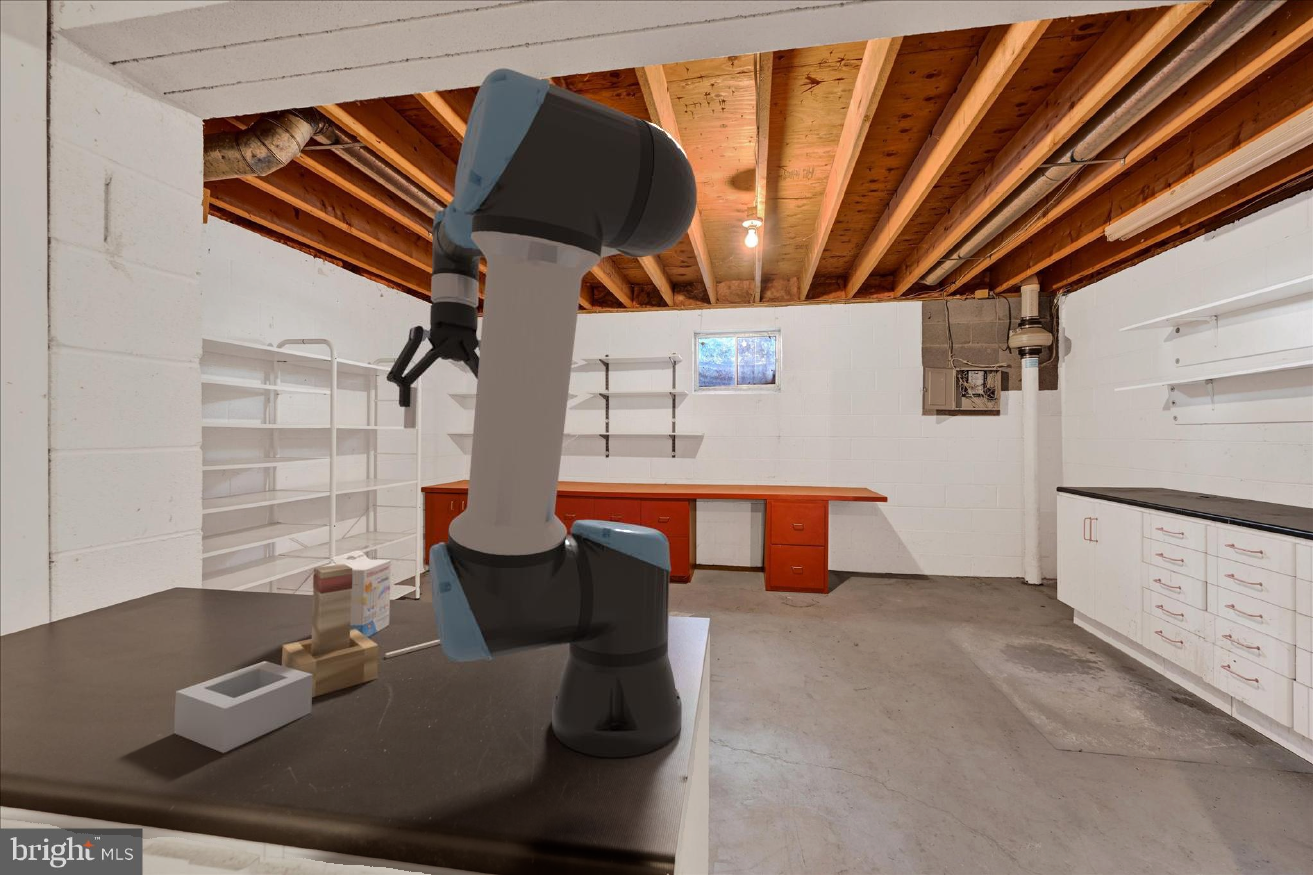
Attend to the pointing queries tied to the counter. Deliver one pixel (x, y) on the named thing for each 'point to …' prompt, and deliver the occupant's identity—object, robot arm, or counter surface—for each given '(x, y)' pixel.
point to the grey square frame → (242, 705)
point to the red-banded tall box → (331, 609)
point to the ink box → (368, 592)
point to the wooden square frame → (334, 663)
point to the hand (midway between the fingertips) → (451, 430)
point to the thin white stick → (412, 649)
